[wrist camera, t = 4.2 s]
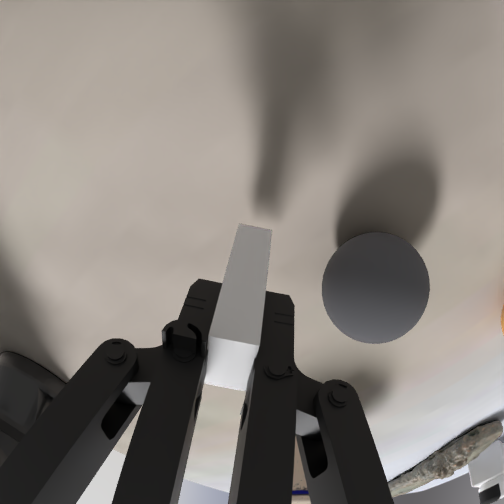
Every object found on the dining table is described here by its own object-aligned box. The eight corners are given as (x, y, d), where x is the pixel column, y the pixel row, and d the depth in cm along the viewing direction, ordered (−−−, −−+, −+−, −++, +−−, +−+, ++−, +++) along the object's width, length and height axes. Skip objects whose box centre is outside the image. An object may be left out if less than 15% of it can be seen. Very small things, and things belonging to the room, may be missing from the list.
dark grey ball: (306, 284, 19) (309, 359, 14) (335, 201, 16) (354, 266, 11) (387, 299, 19) (408, 369, 14) (425, 225, 16) (466, 290, 11)
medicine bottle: (473, 459, 41) (482, 507, 31) (465, 455, 39) (474, 509, 29) (503, 443, 37) (514, 492, 27) (498, 438, 35) (510, 493, 25)
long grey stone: (362, 485, 50) (401, 479, 51) (364, 506, 46) (403, 499, 47) (471, 422, 29) (512, 411, 30) (479, 456, 25) (520, 440, 25)
